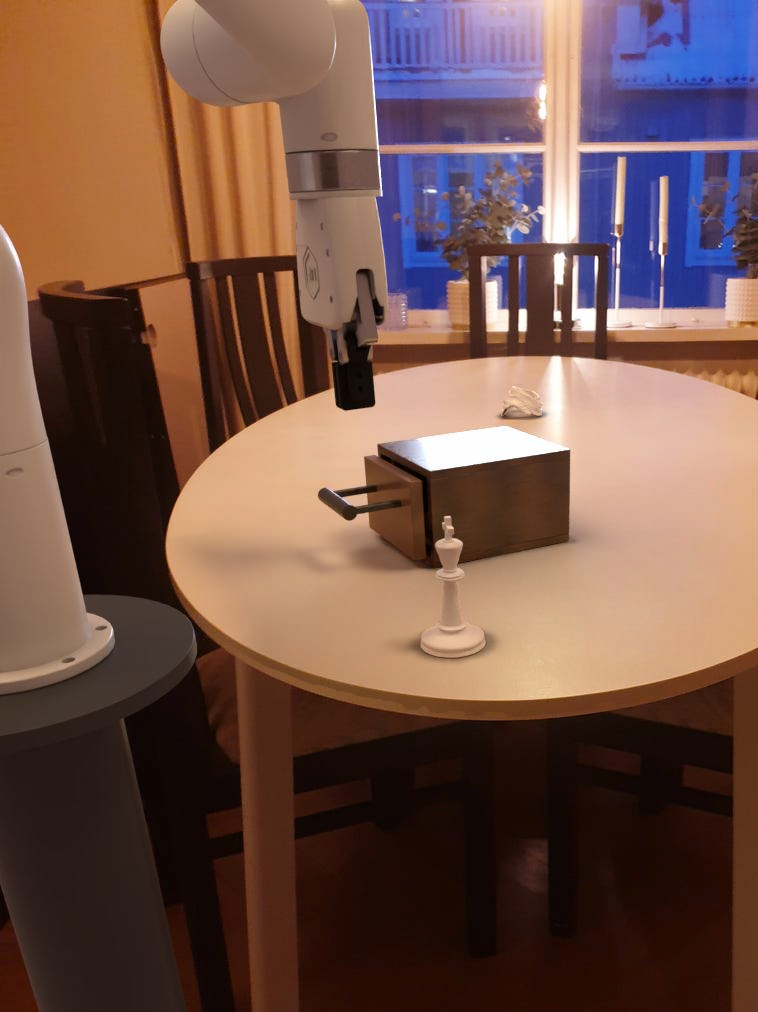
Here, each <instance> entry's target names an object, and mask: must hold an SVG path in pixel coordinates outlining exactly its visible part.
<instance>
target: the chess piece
mask: <svg viewBox="0 0 758 1012" xmlns="http://www.w3.org/2000/svg"><path fill="white" fill-rule="evenodd" d="M442 528H443V530H444V531H445V538H444V539H441V540H439V541H437V542H436V543H435V548H436V551H437V553H438V555H439V558H440V561H441V563H442V567H441V568H440V569H438V570H437V571H436V574H435V578H436V579H437V580H439V581H443V592H442V593H443V595H442V606H441V615H440V616H441V617H440V620H439V621H438V622H437V623H436V624H435V625H432V626H430V627H428V628H426V629H425V630H424V631H423V632H422V634H421V636H420V649H422V651H423V652H424V653H426V654H428V655H430V656H434V657H438V658H445V659H448V658H449V659H452V658H453V659H454V658H455V659H456V658H463V657H469V656H471V655H474V654H476V653H478V652H480V651H481V650H482V649H483V648H484V647H485V646H486V639H485V633H484V631H483V630H482V629H481V628H480V627H478V626H476V625H474V624H472V623H469V622H468V621H467V620H465V619H464V617H463V611H462V607H461V601H460V594H459V587H458V581H460V580H462V579H463V578H465V576H466V575H465V571H464V570H463V569H462V568H458V564H459V563H458V561H459V556H460V553H461V551H462V547H463V543H462V542H461V541H460V540H458V539H454V538H452V535H453V534H454V528H453V527H452V522H451V517H450V516H444V522H442Z"/></svg>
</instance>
